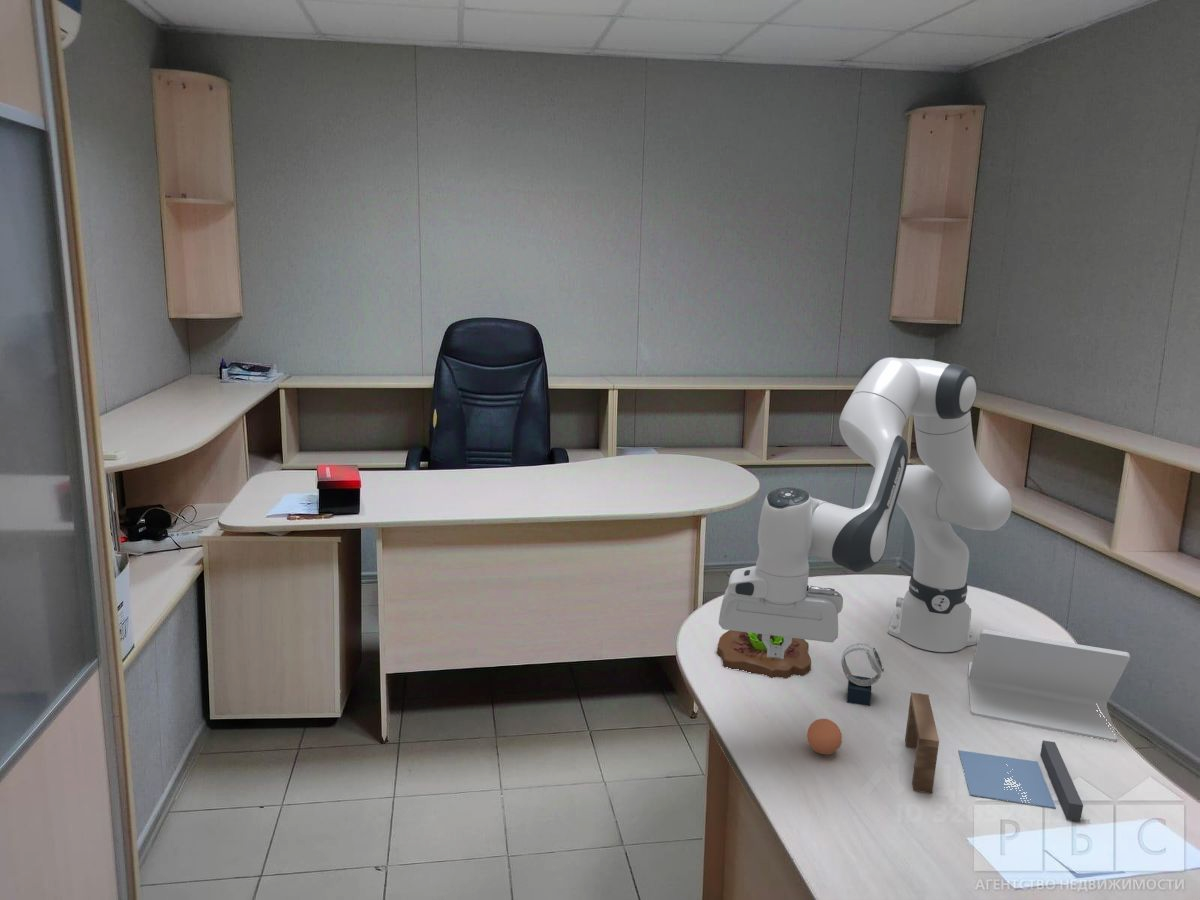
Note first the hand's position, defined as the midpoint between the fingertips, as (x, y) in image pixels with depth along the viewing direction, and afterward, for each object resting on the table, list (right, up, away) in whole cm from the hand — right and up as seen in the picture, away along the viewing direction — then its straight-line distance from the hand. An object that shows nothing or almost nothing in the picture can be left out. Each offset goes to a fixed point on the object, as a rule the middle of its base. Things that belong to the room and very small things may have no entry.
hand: (775, 656), depth 156 cm
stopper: (+46, -20, -6) cm, 51 cm away
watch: (+21, -13, +21) cm, 32 cm away
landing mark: (+38, -20, -4) cm, 43 cm away
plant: (+5, -9, +37) cm, 38 cm away
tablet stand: (+55, -14, +19) cm, 60 cm away
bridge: (+24, -19, -1) cm, 31 cm away
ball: (+9, -14, +2) cm, 17 cm away
